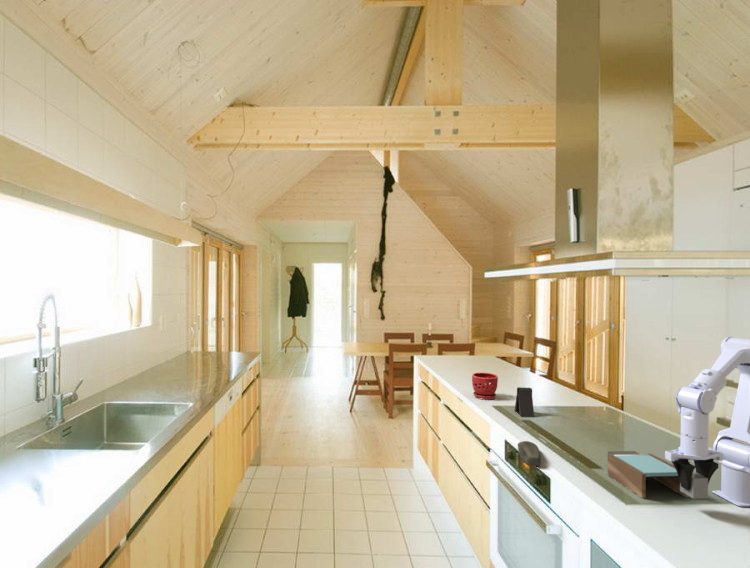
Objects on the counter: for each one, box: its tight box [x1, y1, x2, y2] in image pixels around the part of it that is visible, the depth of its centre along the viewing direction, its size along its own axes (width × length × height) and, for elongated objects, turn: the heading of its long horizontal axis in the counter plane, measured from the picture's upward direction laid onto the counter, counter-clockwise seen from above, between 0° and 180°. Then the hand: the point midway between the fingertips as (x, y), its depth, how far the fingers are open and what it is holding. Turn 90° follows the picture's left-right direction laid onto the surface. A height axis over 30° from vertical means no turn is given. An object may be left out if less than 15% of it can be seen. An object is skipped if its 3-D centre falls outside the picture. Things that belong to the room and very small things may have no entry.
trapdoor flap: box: [607, 450, 678, 476], centre depth 121 cm, size 11×17×4 cm, turn 5°
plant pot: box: [471, 372, 499, 400], centre depth 216 cm, size 13×13×12 cm
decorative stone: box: [517, 440, 542, 467], centre depth 137 cm, size 17×6×4 cm, turn 167°
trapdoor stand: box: [607, 453, 691, 499], centre depth 119 cm, size 14×14×6 cm
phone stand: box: [514, 386, 535, 418], centre depth 188 cm, size 9×6×12 cm, turn 179°
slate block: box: [680, 470, 709, 499], centre depth 105 cm, size 4×4×5 cm
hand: (693, 488), depth 105 cm, fingers closed on slate block, 4 cm apart
